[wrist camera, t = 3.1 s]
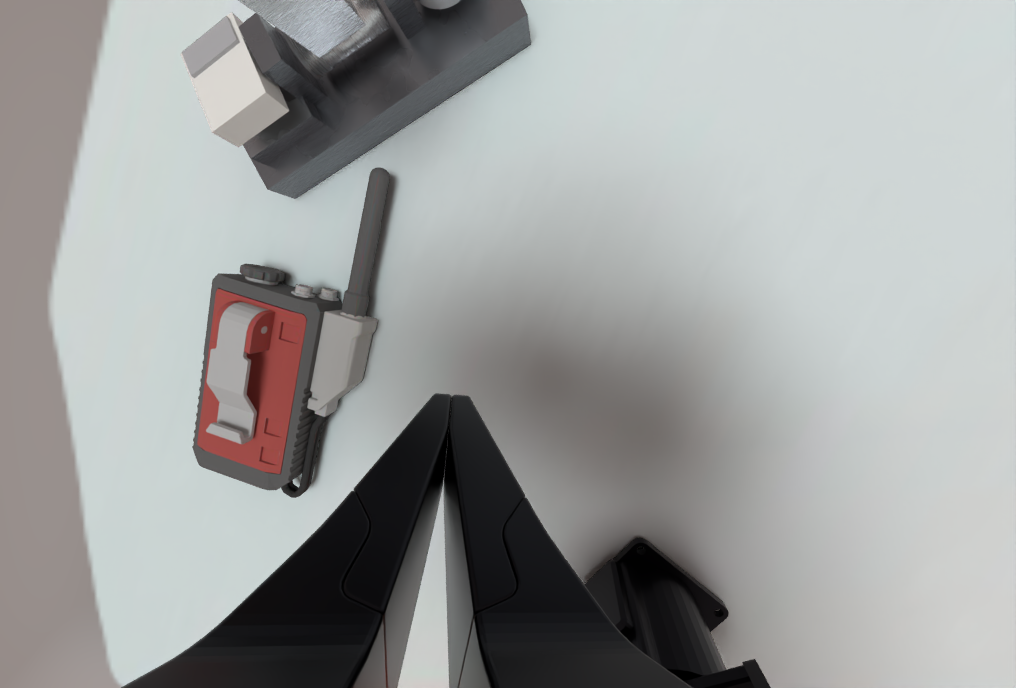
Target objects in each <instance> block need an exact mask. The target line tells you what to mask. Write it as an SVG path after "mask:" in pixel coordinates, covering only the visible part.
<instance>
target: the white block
mask: <svg viewBox="0 0 1016 688" xmlns="http://www.w3.org/2000/svg"><path fill="white" fill-rule="evenodd" d="M241 24H243V22H242V21H241V20H240V19H239V18H238V17H236V16H235V15H234V14H233V13H232V12H231V13H230V14H229V15H228V16H225V17H224V18H223V19H222V20H221V21H219V22H218V23H217V24H216V25H214V26H213V27H212V28H211V29H210V30H208V31H207V32H206V33H205V34H203V35H202V36H201V37H200V38H199V39H197V40H196V41H195V42H194V43H192V44H191V45H190V46H189V47H188V48H186V49H185V50H184V51H183V52H182V53H181V56H182V59H183V61H184V64H185V66H186V69H187V71H188V74H189V76H190V79H191V81H192V84H193V86H194V89H195V91H196V94H197V96H198V99H199V101H200V104H201V106H202V109H203V111H204V114H205V116H206V119H207V121H208V124H209V126H210V129H211V131H212V133H214V134H216V135H218V136H219V137H221V138H223V139H225V140H226V141H228V142H230V143H232V144H233V145H235V146H237V147H240V146H241V145H243V144H244V143H245V142H247V141H248V140H250V139H251V138H252V137H254V136H255V135H257V134H258V133H259V132H261V131H262V130H264V129H265V128H266V127H268V126H269V125H271V124H272V123H273V122H275V121H276V120H277V119H279V118H280V117H282V116H283V115H284V114H286V113H287V112H289V109H288V107H287V104H286V102H285V100H284V97H283V95H282V93H281V90H280V88H279V86H278V84H276V83H275V82H274V81H272V80H271V79H270V78H268V77H267V76H265V75H264V74H263V73H262V71H261V69H260V67H259V66H258V64H257V62H256V60H255V58H254V56H253V54H252V52H251V50H250V49H249V47H248V45H247V43H246V41H245V39H244V37H243V35H242V33H241V32H240V30H239V28H238V27H239V26H240V25H241Z"/></svg>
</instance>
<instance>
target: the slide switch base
mask: <svg viewBox="0 0 1016 688" xmlns="http://www.w3.org/2000/svg"><path fill="white" fill-rule="evenodd" d="M378 1H379V3H380V5H381V7H382V8H383V10H384V12H385V14H386V16H387V18H388V20H389V23H390V25H391V27H390V28H389V29H387V30H386V31H385V32H383V33H382V34H380V35H379V36H378V37H376V38H375V39H373V40H372V41H371V42H369V43H368V44H367V45H365V46H364V47H362V48H361V49H360V50H358V51H357V52H356V53H354V54H353V55H351V56H350V57H349V58H347V59H346V60H345V61H343V62H342V63H340V64H339V65H338V66H336V67H335V68H333V69H332V70H331V71H329V72H328V73H327V74H325V75H324V76H322V77H321V78H320V79H317V78H315V77H314V76H313V75H311V74H310V73H309V72H308V71H307V70H306V68H305V67H304V66H303V65H302V64H301V62H300V61H299V60H298V59H297V57H296V56H295V55H294V53H293V52H292V50H291V49H290V47H289V45H288V44H287V42H286V40H285V38H284V36H283V34H282V31H281V30H280V29H278V28H277V27H275V28H274V27H272V26H271V25H270V24H269V23H268V22H267V21H266V20H265V19H264V18H263V17H261V16H260V15H258V14H257V13H255V14H254V15H253V16H251V17H250V18H249V19H248V20H246V21H245V22H244V23H243V24H241V25H240V26H239V27H238V28H239V30H240V32H241V33H242V35H243V37H244V39H245V41H246V43H247V45H248V47H249V49H250V50H251V52H252V54H253V56H254V58H255V60H256V62H257V64H258V66H259V67H260V69H261V71H262V73H263V74H264V75H265V76H267V77H268V78H270V79H271V80H272V81H274V82H275V83H276V84H278V86H279V88H280V90H281V93H282V95H283V97H284V100H285V102H286V104H287V107H288V109H289V112H287V113H286V114H284V115H283V116H282V117H280V118H279V119H277V120H276V121H275V122H273V123H272V124H271V125H269V126H268V127H266V128H265V129H264V130H262V131H261V132H259V133H258V134H257V135H255V136H254V137H252V138H251V139H250V140H248V141H247V142H245V143H244V144H243V146H244V148H245V149H246V151H247V153H248V155H249V157H250V159H251V160H252V162H253V163H254V165H255V167H256V169H257V171H258V173H259V175H260V176H261V178H262V180H263V182H264V184H265V186H266V188H267V189H268V190H271V191H274V192H277V193H280V194H283V195H286V196H288V197H291V198H294V199H295V198H297V197H298V196H300V195H301V194H303V193H304V192H306V191H308V190H309V189H311V188H312V187H314V186H315V185H317V184H318V183H320V182H321V181H323V180H324V179H326V178H327V177H329V176H330V175H332V174H333V173H335V172H336V171H338V170H340V169H341V168H343V167H344V166H346V165H347V164H349V163H350V162H352V161H353V160H355V159H356V158H358V157H359V156H361V155H362V154H364V153H365V152H367V151H369V150H370V149H372V148H373V147H375V146H376V145H378V144H379V143H381V142H382V141H384V140H385V139H387V138H388V137H390V136H391V135H393V134H394V133H396V132H398V131H399V130H401V129H402V128H404V127H405V126H407V125H408V124H410V123H411V122H413V121H414V120H416V119H417V118H419V117H420V116H422V115H423V114H425V113H426V112H428V111H430V110H431V109H433V108H434V107H436V106H437V105H439V104H440V103H442V102H443V101H445V100H446V99H448V98H449V97H451V96H452V95H454V94H455V93H457V92H459V91H460V90H462V89H463V88H465V87H466V86H468V85H469V84H471V83H472V82H474V81H475V80H477V79H478V78H480V77H481V76H483V75H484V74H486V73H487V72H489V71H491V70H492V69H494V68H495V67H497V66H498V65H500V64H501V63H503V62H504V61H506V60H507V59H509V58H510V57H512V56H513V55H515V54H516V53H518V52H520V51H521V50H523V49H524V48H526V47H527V46H529V45H530V44H531V42H530V33H529V25H528V16H527V13H526V11H525V8H524V6H523V4H522V2H521V0H461V1H459V2H458V3H457V4H455V5H453V6H451V7H449V8H445V9H431V8H428V7H425V6H424V5H422V4H420V3H419V2H418V1H417V0H378Z"/></svg>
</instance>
